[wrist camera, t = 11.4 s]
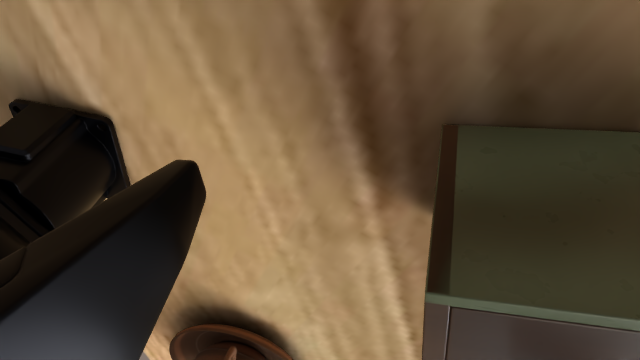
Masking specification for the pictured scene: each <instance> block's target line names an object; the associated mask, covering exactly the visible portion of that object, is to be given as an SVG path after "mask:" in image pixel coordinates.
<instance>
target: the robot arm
mask: <svg viewBox="0 0 640 360" xmlns="http://www.w3.org/2000/svg"><path fill="white" fill-rule="evenodd" d="M9 108H10V111H11V113H12V115H13V118H11V119H10V120H9V121H8V122H6V123H5V124H4V125H2V126H1V127H0V360H139V358H140V356H141V354H142V352H143V350H144V348H145V346H146V343H147V341H148V339H149V337H150V335H151V333H152V331H153V328H154V326H155V324H156V322H157V320H158V318H159V315H160V313H161V311H162V309H163V307H164V305H165V303H166V300H167V298H168V296H169V294H170V292H171V290H172V288H173V285H174V283H175V281H176V279H177V277H178V275H179V272H180V270H181V268H182V266H183V264H184V261H185V259H186V256H187V253H188V251H189V248H190V245H191V242H192V239H193V236H194V233H195V230H196V227H197V224H198V221H199V218H200V215H201V212H202V209H203V206H204V203H205V199H206V190H205V186H204V183H203V180H202V177H201V174H200V170H199V167H198V165H197V163H196V162H194V161H192V160H175V161H173V162H171V163H170V164H168V165H166V166H164V167H163V168H161V169H159V170H157V171H156V172H154V173H152V174H150V175H149V176H147V177H145V178H143V179H142V180H140V181H138V182H136V183H135V184H133V185H131V186H130V182H129V178H128V175H127V171H126V168H125V164H124V160H123V157H122V153H121V149H120V146H119V142H118V138H117V135H116V131H115V127H114V124H113V122H112V121H111V120H110V119H109V118H107V117H105V116H100V115H95V114H91V113H86V112H81V111H76V110H71V109H66V108H61V107H56V106H51V105H46V104H41V103H36V102H31V101H26V100H22V99H15V100H14V101H12V102H11V103H9ZM106 198H108V199H107V200H105V199H106ZM104 200H105V201H104Z"/></svg>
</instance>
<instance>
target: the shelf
mask: <svg viewBox="0 0 640 360" xmlns="http://www.w3.org/2000/svg"><path fill="white" fill-rule="evenodd" d="M422 360H640V132H618V131H594V130H569V129H544V128H519V127H494V126H470V125H445V124H443V125H442V129H441V139H440V149H439V159H438V168H437V178H436V188H435V198H434V208H433V218H432V228H431V237H430V247H429V257H428V267H427V277H426V287H425V301H424V323H423V345H422Z"/></svg>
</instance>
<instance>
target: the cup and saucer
mask: <svg viewBox="0 0 640 360" xmlns="http://www.w3.org/2000/svg"><path fill="white" fill-rule="evenodd" d="M169 350H170V355H171V358H172V360H293V359H292V358H291V357H290V356H289V355H288V354H287V353H286V352H285V351H284V350H283V349H281V348H280V347H279V346H277V345H276V344H274V343H273V342H271V341H269V340H268V339H266V338H264V337H262V336H260V335H257V334H255V333H253V332H250V331H247V330H244V329H241V328H237V327H233V326H228V325H221V324H202V325H197V326H193V327H190V328H187V329H184V330H182V331H180V332H179V333H178V334H177V335H176V336H175V337H174V338H173V340H172V341H171V343H170V348H169Z"/></svg>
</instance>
